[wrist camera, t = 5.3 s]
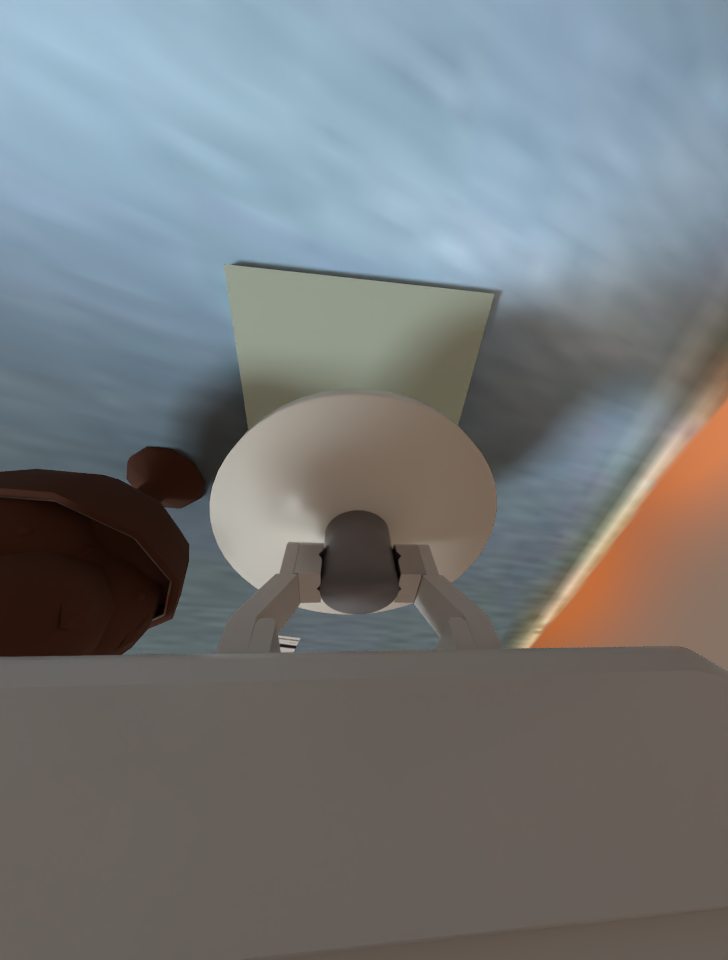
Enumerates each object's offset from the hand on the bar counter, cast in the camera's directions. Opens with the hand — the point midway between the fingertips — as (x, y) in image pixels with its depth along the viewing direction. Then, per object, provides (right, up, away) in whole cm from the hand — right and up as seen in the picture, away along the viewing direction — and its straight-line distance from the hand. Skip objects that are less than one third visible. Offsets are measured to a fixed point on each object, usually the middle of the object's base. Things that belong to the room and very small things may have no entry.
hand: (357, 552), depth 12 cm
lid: (0, +1, +2) cm, 2 cm away
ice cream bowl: (-15, +3, +10) cm, 19 cm away
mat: (-1, +5, +9) cm, 11 cm away
